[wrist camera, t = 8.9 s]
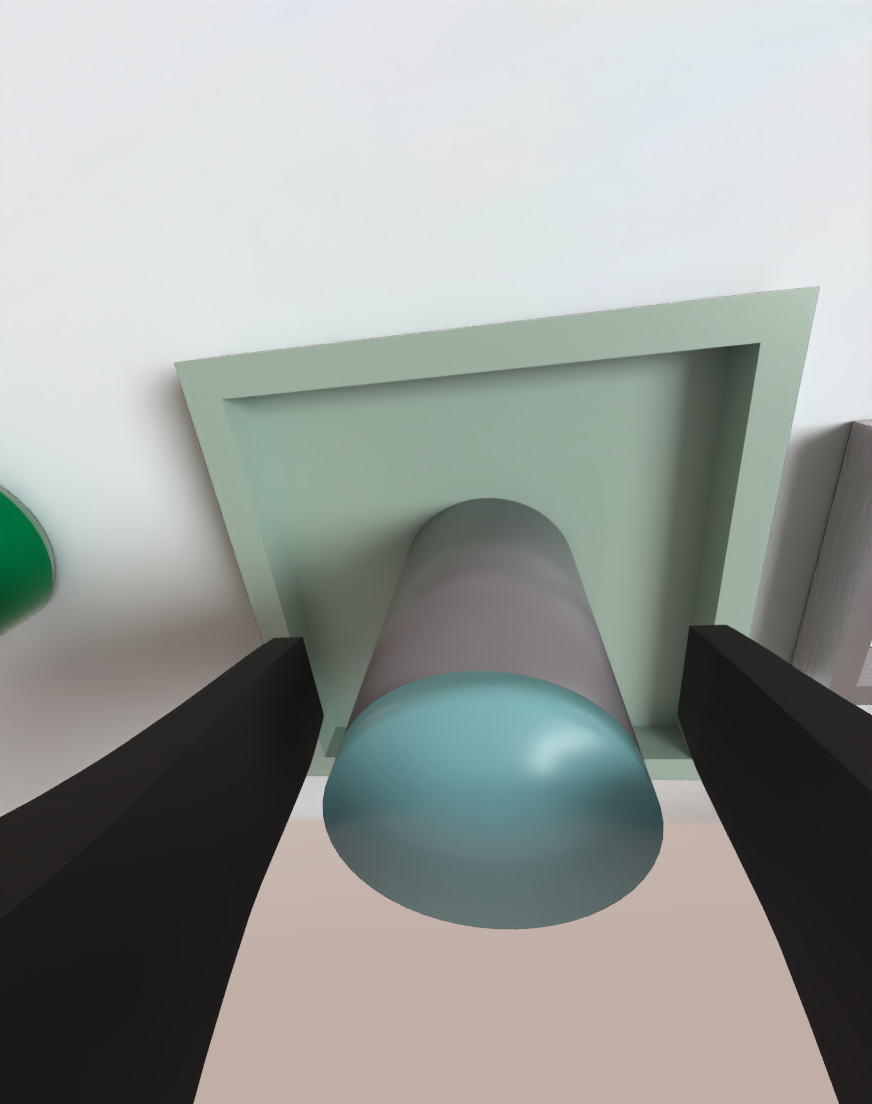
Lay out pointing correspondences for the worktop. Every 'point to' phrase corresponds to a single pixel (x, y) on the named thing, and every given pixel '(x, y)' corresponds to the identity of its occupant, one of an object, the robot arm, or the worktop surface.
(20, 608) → the soda can
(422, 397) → the tray
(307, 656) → the robot arm
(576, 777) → the cylinder
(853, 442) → the collar
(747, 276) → the worktop surface
